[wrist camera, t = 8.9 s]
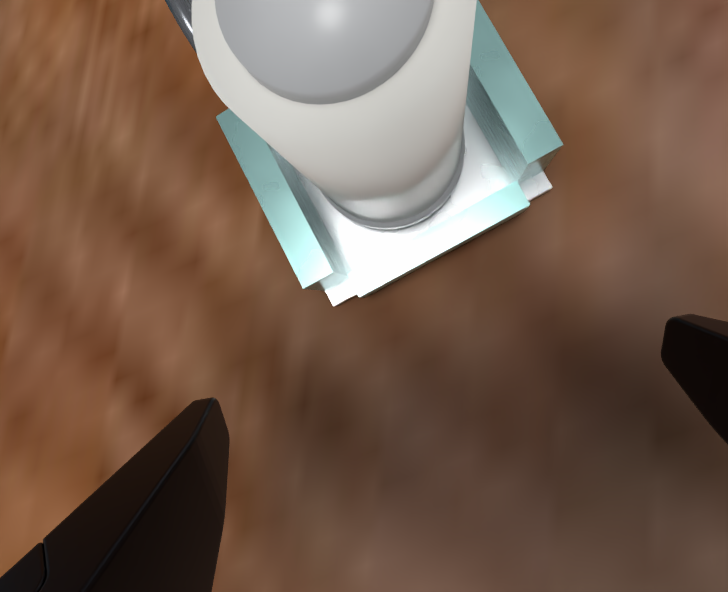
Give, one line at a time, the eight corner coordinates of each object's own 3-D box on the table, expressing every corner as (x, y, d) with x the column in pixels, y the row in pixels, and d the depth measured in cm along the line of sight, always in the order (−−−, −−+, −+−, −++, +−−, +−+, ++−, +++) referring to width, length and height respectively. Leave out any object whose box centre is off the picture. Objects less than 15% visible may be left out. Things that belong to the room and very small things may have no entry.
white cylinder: (495, 160, 18) (566, -34, 7) (382, 261, 18) (303, 211, 8) (396, 57, 18) (335, -254, 8) (291, 157, 19) (113, -10, 9)
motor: (552, 197, 18) (601, 149, 12) (339, 312, 19) (297, 316, 14) (392, -80, 19) (370, -238, 14) (203, 46, 21) (112, -50, 15)
